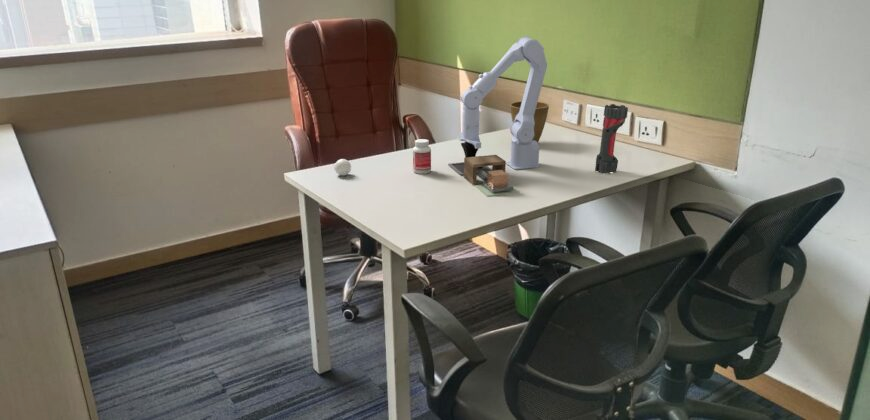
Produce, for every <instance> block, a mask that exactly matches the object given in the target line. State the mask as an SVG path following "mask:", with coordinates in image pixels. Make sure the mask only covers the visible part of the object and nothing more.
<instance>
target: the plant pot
mask: <svg viewBox="0 0 870 420" xmlns="http://www.w3.org/2000/svg"><path fill="white" fill-rule="evenodd" d="M521 103H522V100H521V101H514V102H512V103H510V105H509V106H510V107H509V108H510V114H511V121H512V123H513V122H514V120H515V118H516V115H517V114H518V113H519V111H520V107H521ZM549 106H550V105H549V104H548V103H546V102H541V101H538V102H537V106H536V110H535V113H534V123H535V125H534V138H533V140H535V141H537V143H538V144H539V141H540V140H541V137H542V134H543V132H544V127H545V125H546V121H547V117H548V114H549V113H548V112H549V110H550V109H549Z"/></svg>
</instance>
